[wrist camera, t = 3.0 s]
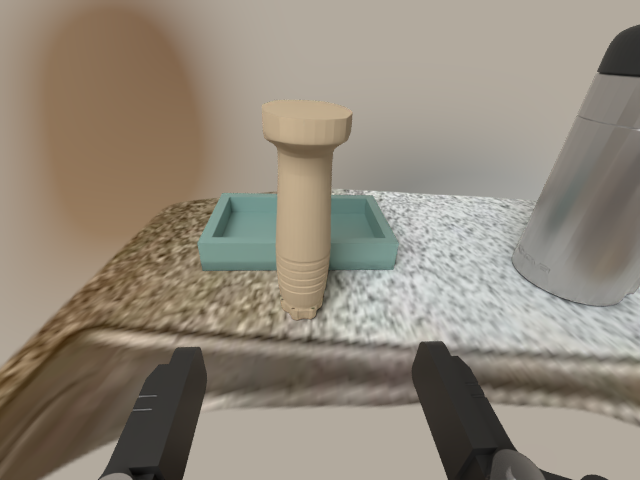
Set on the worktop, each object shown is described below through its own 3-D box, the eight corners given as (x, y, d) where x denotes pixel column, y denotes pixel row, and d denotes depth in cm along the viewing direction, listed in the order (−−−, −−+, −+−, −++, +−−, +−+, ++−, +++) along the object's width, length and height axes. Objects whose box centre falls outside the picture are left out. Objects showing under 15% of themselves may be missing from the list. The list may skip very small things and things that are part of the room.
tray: (369, 217, 39) (372, 195, 37) (393, 269, 30) (398, 243, 28) (225, 215, 37) (222, 193, 36) (202, 270, 28) (197, 243, 27)
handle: (273, 343, 22) (262, 118, 14) (270, 284, 27) (261, 98, 19) (339, 336, 22) (365, 120, 15) (324, 280, 28) (336, 101, 20)
